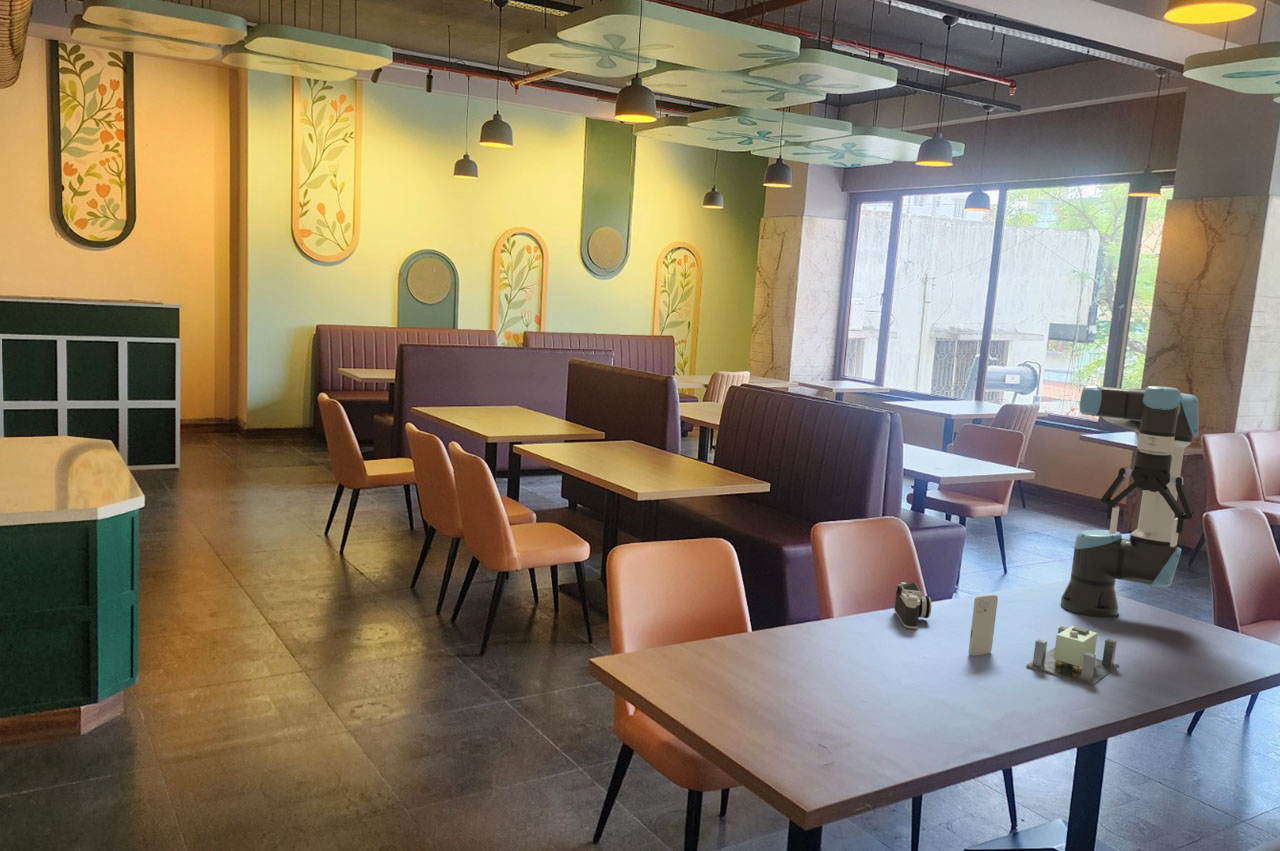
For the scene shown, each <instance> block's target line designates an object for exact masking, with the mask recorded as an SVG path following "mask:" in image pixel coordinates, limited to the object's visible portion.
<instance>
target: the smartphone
mask: <svg viewBox="0 0 1280 851" xmlns="http://www.w3.org/2000/svg"><path fill="white" fill-rule="evenodd" d="M998 599H999V598H998V595H996V594H994V593H993V594H991V593H990V594H985V595H983V594H982V595H977V596H976V597H975V598H974V601H973V608H972V609H973V611H972V617H971V618H972V620H971V628H970V637H969V643H968V655H969V656H972V657H974V656H978V655H979V656H980V655H986V654H990V653H991V652H992V649H993V643H994V642H993V640H994V633H995V625H996V617H997V616H996V615H997V608H998V601H999V600H998Z"/></svg>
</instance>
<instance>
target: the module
mask: <svg viewBox="0 0 1280 851" xmlns="http://www.w3.org/2000/svg"><path fill="white" fill-rule="evenodd" d="M1097 638H1098V632H1095V631H1091V630H1090V629H1088V628H1085V627H1082V626H1078V625H1075V626H1074V625H1071V626H1070V627H1069V626H1068V627H1067V629H1066V630H1064V631H1062V632H1061V633H1059V634H1058V633H1057V634H1056V638H1055V647H1054V648H1055V652H1054V659H1055V660H1059V661H1062V662H1066V663H1069V664H1072V665H1076V666H1079V667H1080V666H1082V665H1083V657H1084V654H1085V653H1090V654H1094V655H1096V654H1095V652H1096V647H1097V646H1096V645H1097Z"/></svg>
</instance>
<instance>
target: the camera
mask: <svg viewBox="0 0 1280 851" xmlns="http://www.w3.org/2000/svg"><path fill="white" fill-rule="evenodd" d="M917 584H918V583H916V582H911V583H909V582H905V581H904V582H903V581H901V582H900V584H897V586H896V591H895V599H894V600H895V602H894V609H893V610H894V612H895V614H896V616H897V617H898V618H899V620H900V622H901V623H902V625H903V627H905V628H906V629H911V630H916V629H918V627H919V618H923V619H929V618H930V617H931V612H932V599H931V597H930V596H928V595H924V594H923V592H922V590H921V589H920V587H919V585H917Z"/></svg>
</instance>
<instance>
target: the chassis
mask: <svg viewBox="0 0 1280 851" xmlns="http://www.w3.org/2000/svg"><path fill="white" fill-rule="evenodd" d="M1067 628H1068V627H1067V626H1062V625H1061V626H1059V627H1058V628H1057V629H1058V630H1057V634H1059V633H1061V632H1062V631H1064V630H1066V629H1067ZM1117 642H1118V641H1117V640H1115V639H1111V638H1107V639H1105V640H1104V645H1103V646H1104V647H1103V655H1102V659H1099V658H1097V657H1096V656H1097V655H1096V654H1095V655H1094V654H1090V653H1085V654H1084V657H1083V665H1082V666H1080V667H1079V666H1076V665H1072V664H1069V663H1066V662H1062V661H1059V660H1055V659H1054V652H1055V647H1053V648H1052V649H1050V650H1049V651H1047V649H1048V648H1047V647H1048V640H1045V639H1040V638H1039V639H1036V640H1035V642H1034V643H1035V644H1034V651H1033V659H1032V661H1030V662H1028V663H1027V664H1026V669H1031V670H1034V671H1038V672H1040V671H1041V673H1045V674H1048V673H1049V675H1051V674H1052V676H1056V677H1058V676H1059V678H1062V679H1066V680H1070V681H1073V682H1077V683H1080V684H1085V685H1087V686H1091V687H1093V686H1094V685H1096V684H1097V683H1099V682H1100V681H1101V680H1102V679H1104V678H1105V677H1107V676H1108V675H1109V674H1110V673H1112V672H1113V671H1114V670H1116V669H1117V668H1118V667H1120V665H1119V664H1117V663H1115V657H1116V648H1117Z"/></svg>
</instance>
